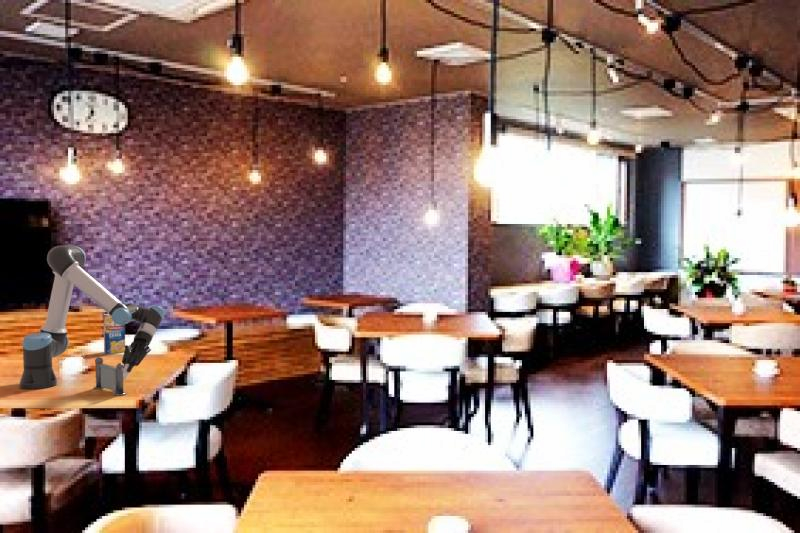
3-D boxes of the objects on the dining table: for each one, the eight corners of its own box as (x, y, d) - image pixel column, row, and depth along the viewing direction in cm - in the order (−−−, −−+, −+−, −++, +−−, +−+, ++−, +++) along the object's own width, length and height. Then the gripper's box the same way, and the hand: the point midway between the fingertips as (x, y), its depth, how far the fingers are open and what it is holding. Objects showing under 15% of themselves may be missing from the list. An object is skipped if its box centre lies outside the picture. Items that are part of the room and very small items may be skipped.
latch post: (111, 394, 305) (110, 363, 304) (122, 392, 309) (121, 361, 308) (118, 396, 301) (117, 364, 301) (129, 394, 305) (128, 362, 304)
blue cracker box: (103, 352, 411) (103, 314, 410) (124, 350, 416) (123, 313, 415) (105, 353, 405) (104, 315, 404) (125, 352, 410) (124, 314, 409)
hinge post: (91, 388, 316) (90, 357, 316) (102, 386, 320) (101, 355, 320) (96, 390, 313) (96, 358, 313) (107, 388, 317) (107, 357, 316)
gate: (100, 387, 314) (99, 364, 314) (104, 386, 316) (103, 363, 315) (116, 391, 305) (115, 368, 305) (120, 391, 307) (119, 367, 306)
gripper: (160, 340, 331) (138, 383, 316) (136, 339, 335) (114, 381, 319) (153, 330, 325) (130, 373, 310) (129, 329, 329) (105, 372, 314)
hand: (122, 377), depth 315 cm, fingers closed
